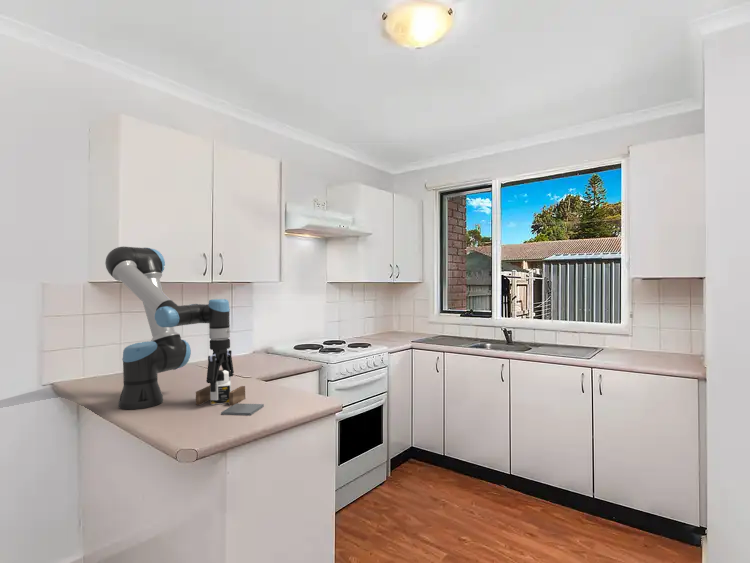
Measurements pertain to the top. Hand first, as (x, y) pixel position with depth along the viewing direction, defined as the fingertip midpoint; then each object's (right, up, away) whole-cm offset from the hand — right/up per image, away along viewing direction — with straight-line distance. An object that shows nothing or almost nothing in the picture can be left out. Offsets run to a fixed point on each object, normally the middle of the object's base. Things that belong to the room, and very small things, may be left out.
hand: (221, 396), depth 171 cm
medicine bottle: (0, -2, 0) cm, 2 cm away
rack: (0, -2, 0) cm, 2 cm away
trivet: (+12, -2, -12) cm, 17 cm away
